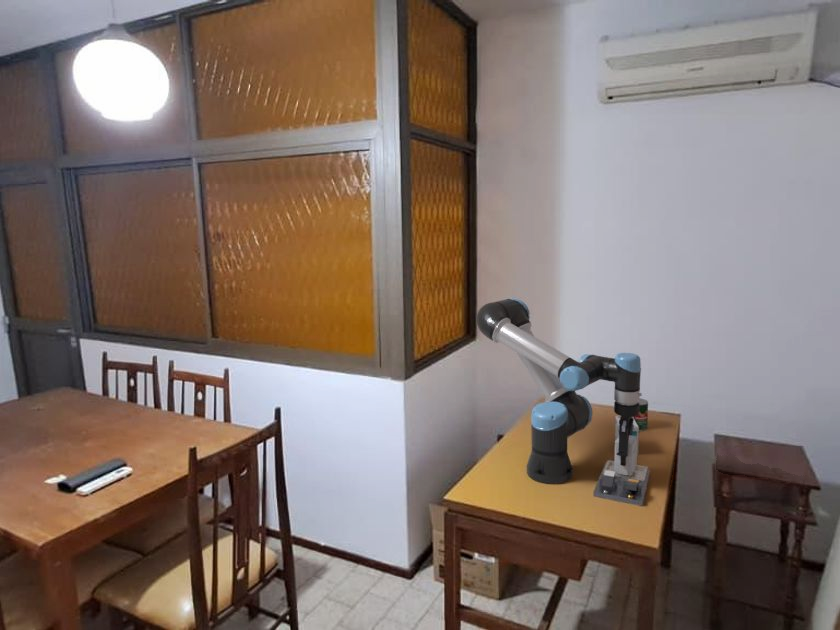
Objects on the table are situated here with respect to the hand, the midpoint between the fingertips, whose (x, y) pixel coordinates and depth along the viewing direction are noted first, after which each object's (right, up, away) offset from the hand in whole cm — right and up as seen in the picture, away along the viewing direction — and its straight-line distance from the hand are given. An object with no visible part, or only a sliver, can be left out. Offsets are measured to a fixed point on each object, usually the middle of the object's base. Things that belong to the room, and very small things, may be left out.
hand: (625, 467), depth 174 cm
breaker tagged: (-2, -2, -11) cm, 12 cm away
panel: (-2, -4, -4) cm, 6 cm away
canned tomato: (+21, +5, +41) cm, 46 cm away
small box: (0, -1, 0) cm, 1 cm away
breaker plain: (-8, -2, -8) cm, 12 cm away
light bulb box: (+9, +1, +22) cm, 24 cm away
